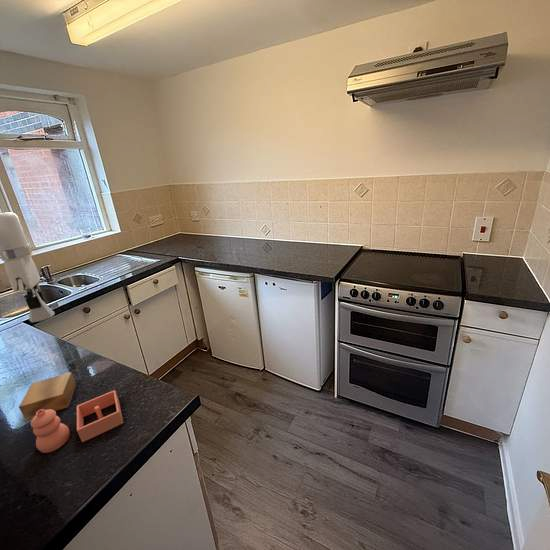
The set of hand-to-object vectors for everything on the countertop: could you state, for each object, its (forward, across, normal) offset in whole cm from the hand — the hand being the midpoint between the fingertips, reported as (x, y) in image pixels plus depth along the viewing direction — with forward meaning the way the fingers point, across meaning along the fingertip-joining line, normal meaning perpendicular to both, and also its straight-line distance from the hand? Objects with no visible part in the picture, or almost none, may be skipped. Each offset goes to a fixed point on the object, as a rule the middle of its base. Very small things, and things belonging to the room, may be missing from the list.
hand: (37, 305), depth 99 cm
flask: (+5, 0, 0) cm, 5 cm away
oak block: (+21, +26, +4) cm, 34 cm away
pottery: (+21, +42, +15) cm, 49 cm away
